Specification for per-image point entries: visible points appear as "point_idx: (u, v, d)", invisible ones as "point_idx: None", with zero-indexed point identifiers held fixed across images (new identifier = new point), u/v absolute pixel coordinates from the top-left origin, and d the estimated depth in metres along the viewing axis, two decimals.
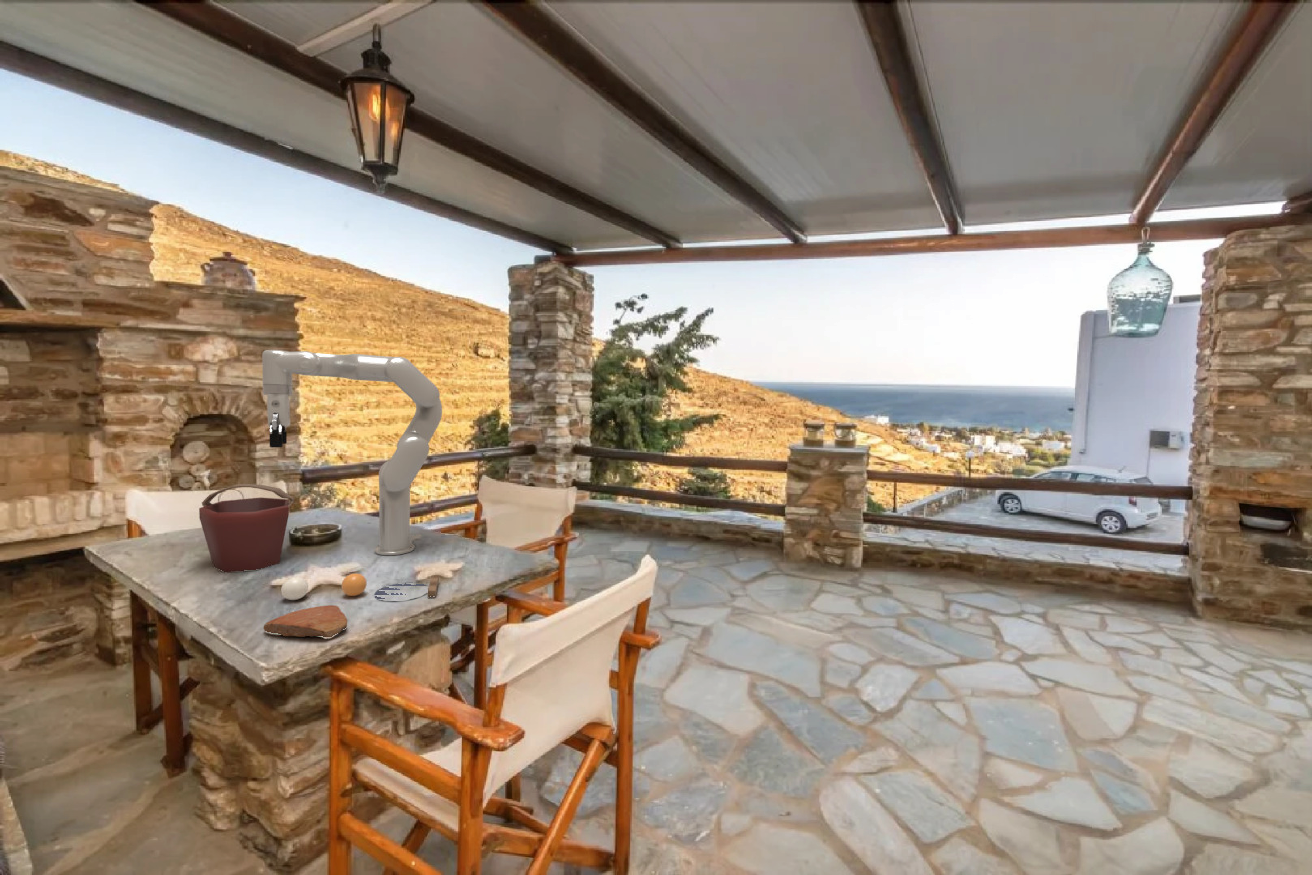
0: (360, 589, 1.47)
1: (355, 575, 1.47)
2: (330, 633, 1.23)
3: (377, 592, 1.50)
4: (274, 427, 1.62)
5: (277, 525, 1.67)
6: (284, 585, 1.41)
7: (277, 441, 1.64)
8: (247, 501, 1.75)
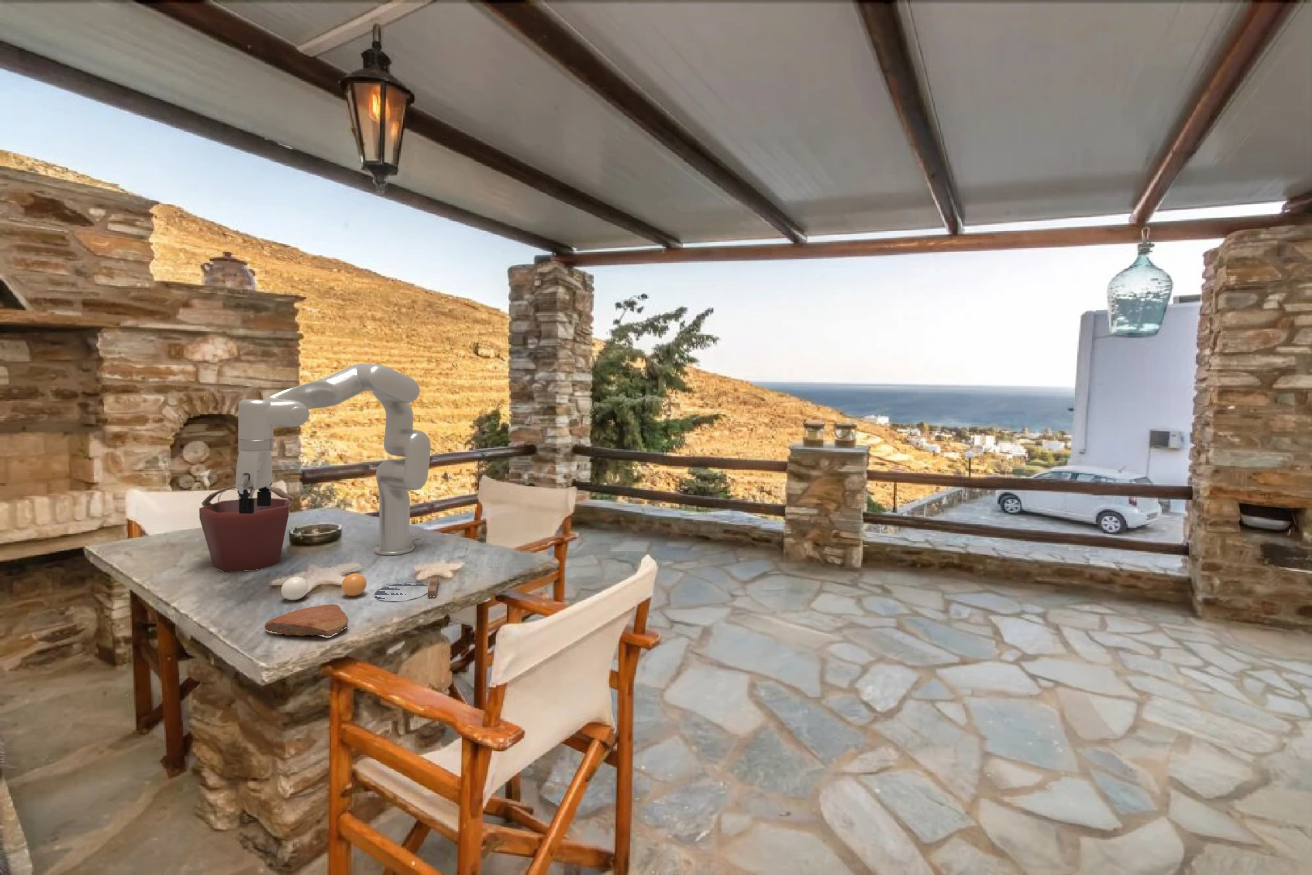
0: (360, 589, 1.47)
1: (355, 575, 1.47)
2: (331, 632, 1.23)
3: (377, 592, 1.50)
4: None
5: (277, 525, 1.67)
6: (284, 585, 1.41)
7: None
8: None
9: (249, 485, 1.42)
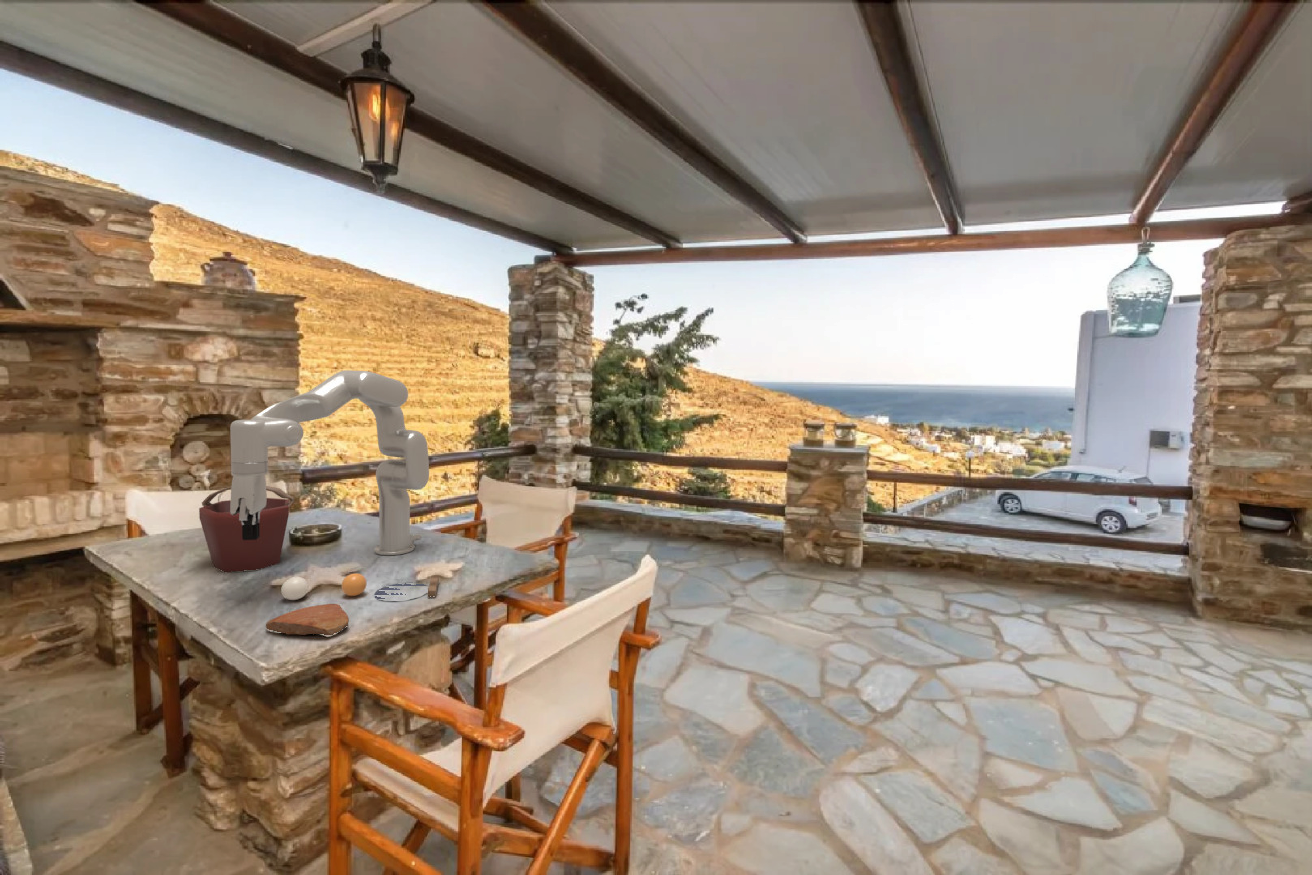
0: (360, 589, 1.47)
1: (355, 575, 1.47)
2: (332, 631, 1.24)
3: (377, 592, 1.50)
4: None
5: (277, 525, 1.67)
6: (284, 585, 1.41)
7: None
8: None
9: None
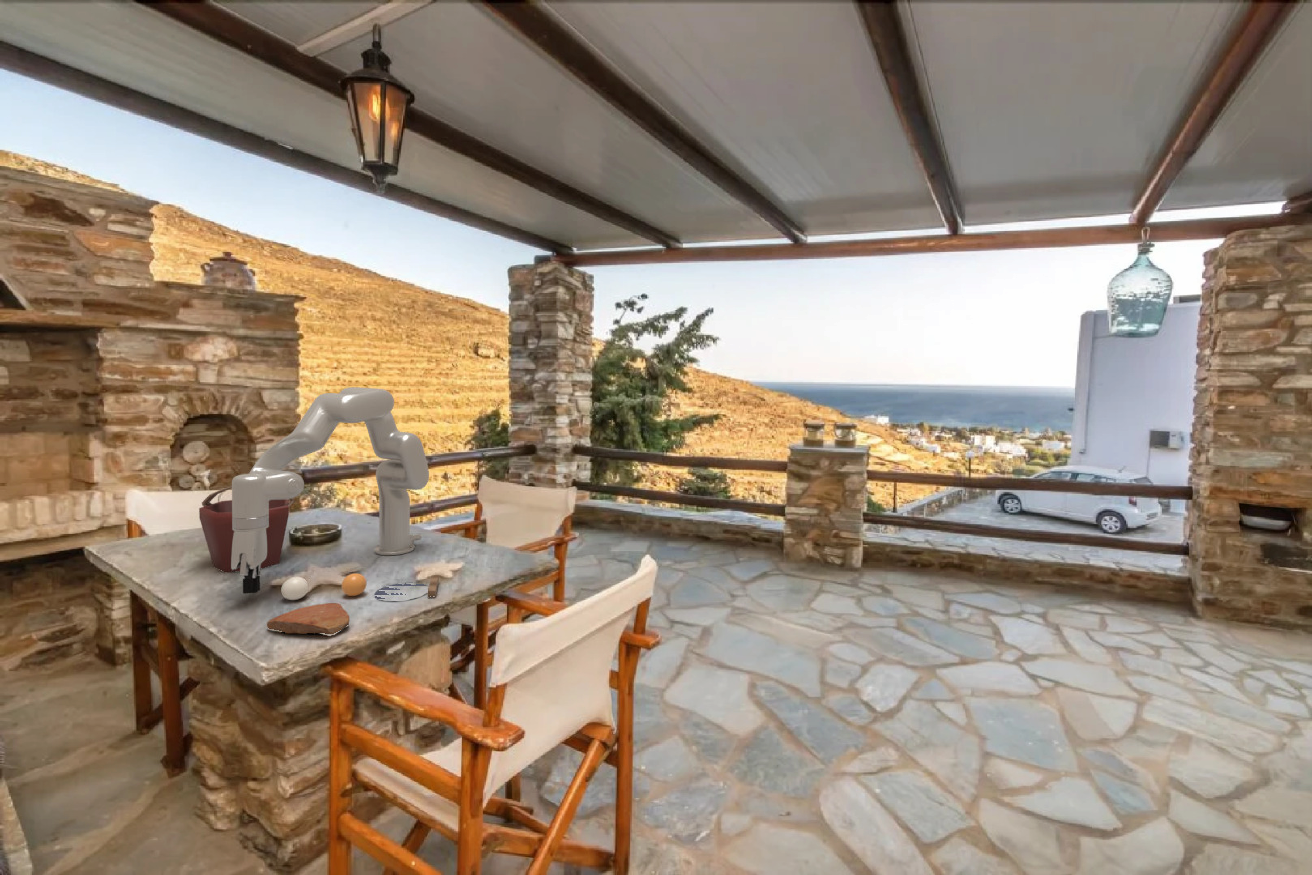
0: (360, 589, 1.47)
1: (355, 575, 1.47)
2: (333, 630, 1.24)
3: (377, 592, 1.50)
4: None
5: (277, 525, 1.67)
6: (284, 585, 1.41)
7: None
8: None
9: None
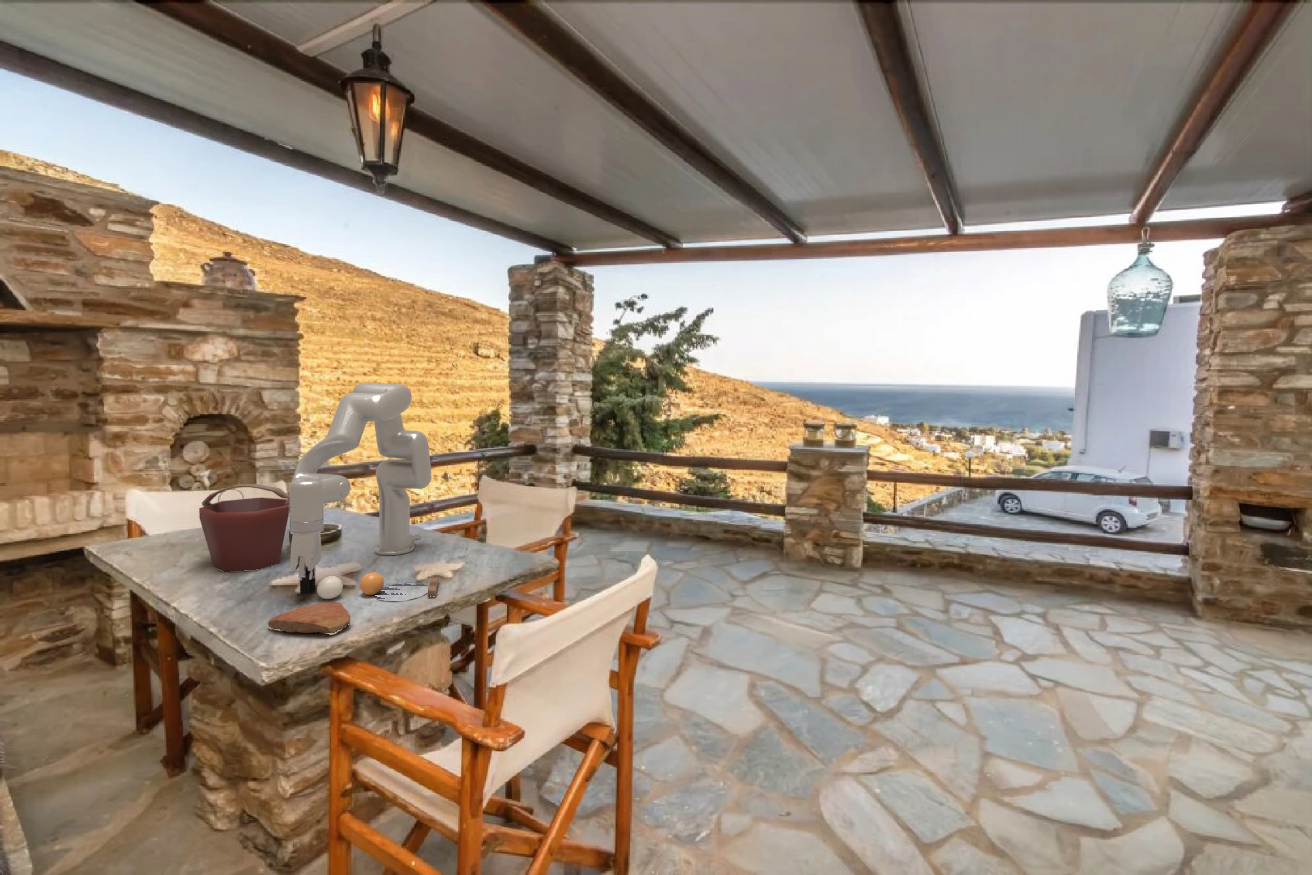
0: (368, 593, 1.47)
1: (382, 583, 1.50)
2: (334, 629, 1.25)
3: None
4: None
5: (277, 525, 1.67)
6: (336, 590, 1.44)
7: None
8: (247, 501, 1.75)
9: None
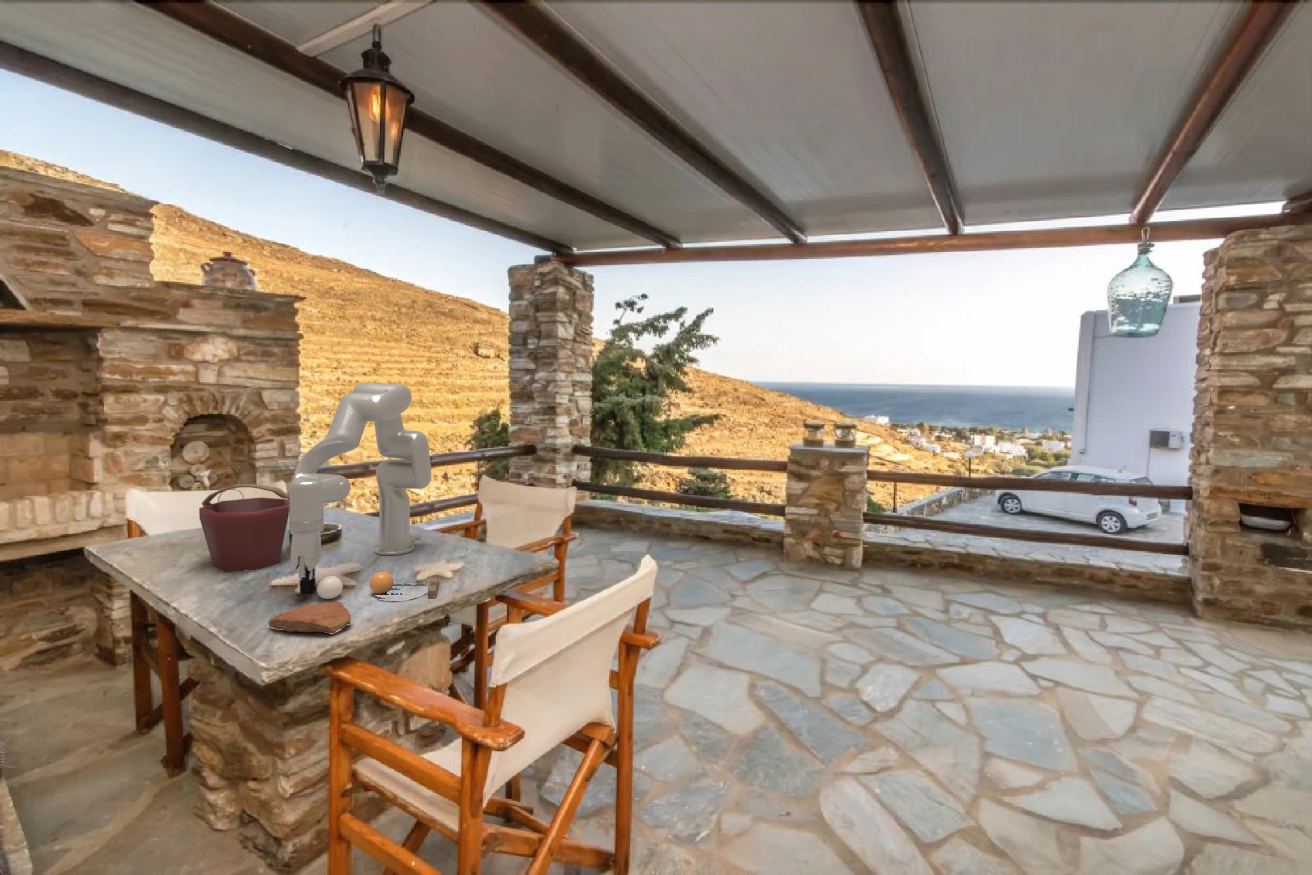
0: (373, 589, 1.48)
1: (389, 590, 1.50)
2: (334, 629, 1.25)
3: None
4: None
5: (277, 525, 1.67)
6: (336, 590, 1.44)
7: None
8: (247, 501, 1.75)
9: None
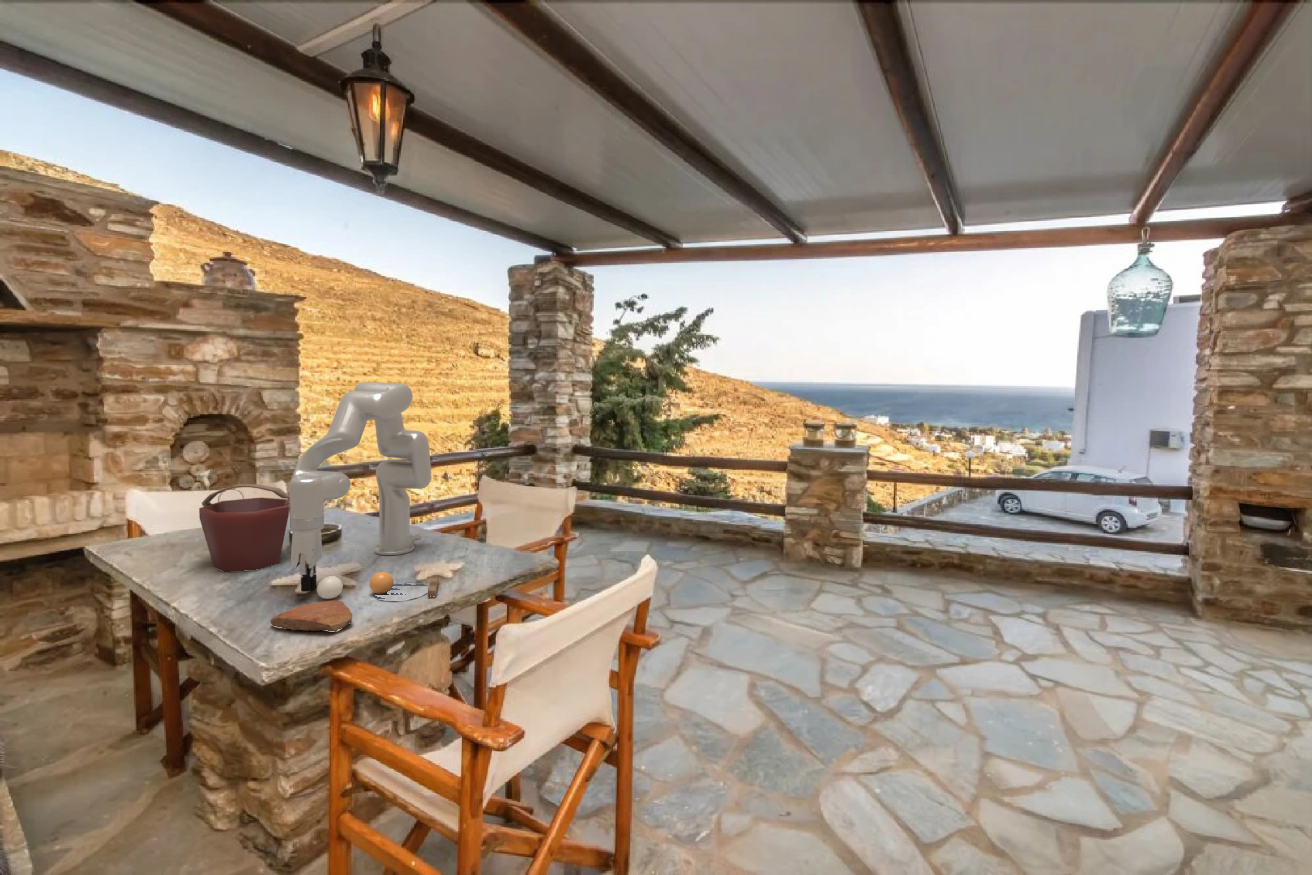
0: (373, 589, 1.48)
1: (389, 590, 1.50)
2: (336, 627, 1.26)
3: None
4: None
5: (277, 525, 1.67)
6: (336, 590, 1.44)
7: None
8: (247, 501, 1.75)
9: None
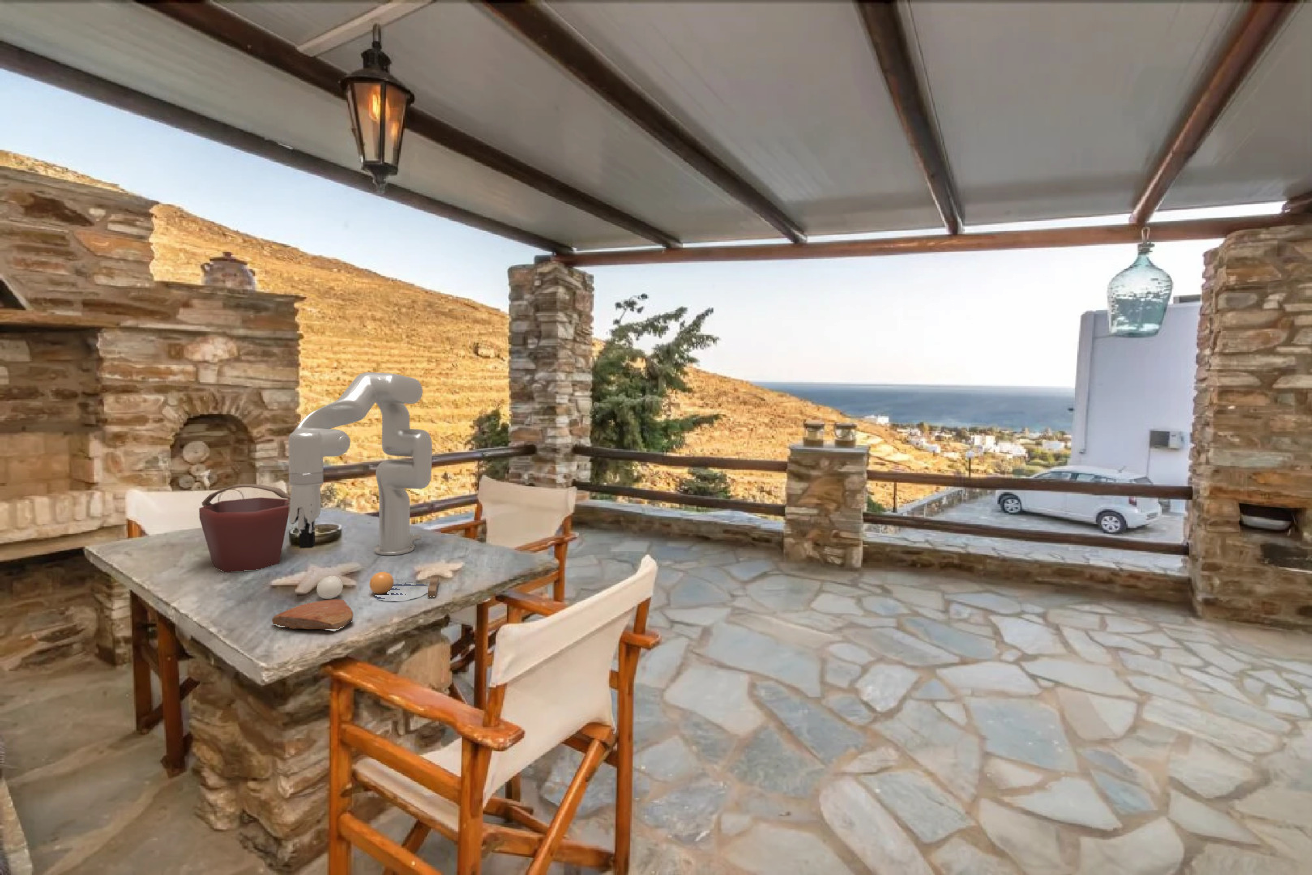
0: (373, 589, 1.48)
1: (389, 590, 1.50)
2: (337, 626, 1.27)
3: None
4: None
5: (277, 525, 1.67)
6: (336, 590, 1.44)
7: None
8: (247, 501, 1.75)
9: None
